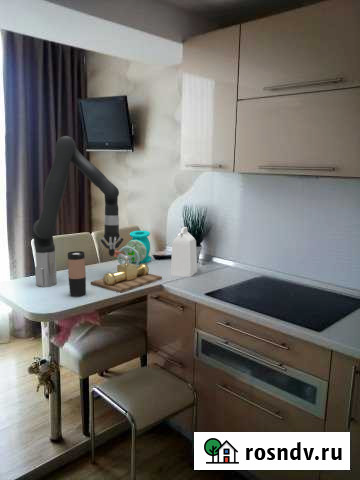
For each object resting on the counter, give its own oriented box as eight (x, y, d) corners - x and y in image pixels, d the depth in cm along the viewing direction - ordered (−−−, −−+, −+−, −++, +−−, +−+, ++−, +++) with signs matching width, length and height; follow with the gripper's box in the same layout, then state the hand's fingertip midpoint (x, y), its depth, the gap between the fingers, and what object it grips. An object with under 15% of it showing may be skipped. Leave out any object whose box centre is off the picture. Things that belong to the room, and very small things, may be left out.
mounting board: (120, 293, 184) (120, 289, 184) (90, 284, 198) (90, 281, 197) (162, 279, 208) (161, 276, 207) (132, 272, 221) (132, 270, 221)
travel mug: (72, 292, 186) (70, 251, 182) (88, 292, 186) (86, 251, 182) (67, 297, 178) (65, 254, 175) (83, 297, 178) (81, 254, 174)
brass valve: (111, 287, 189) (110, 265, 187) (101, 285, 194) (101, 263, 192) (150, 275, 211) (149, 255, 209) (140, 273, 215) (140, 253, 213)
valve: (153, 230, 248) (137, 245, 221) (154, 257, 254) (138, 274, 226) (132, 230, 252) (113, 244, 224) (134, 255, 257) (116, 272, 229)
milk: (190, 276, 212) (190, 229, 208) (170, 275, 216) (170, 228, 211) (197, 271, 223) (197, 226, 219) (178, 269, 227) (178, 225, 222)
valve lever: (125, 261, 198) (125, 255, 198) (112, 255, 211) (111, 250, 211) (130, 260, 200) (130, 255, 200) (117, 254, 213) (116, 249, 213)
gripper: (101, 225, 198) (101, 258, 201) (126, 224, 204) (125, 256, 207) (97, 223, 205) (97, 255, 208) (121, 222, 211) (121, 253, 214)
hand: (111, 255), depth 207 cm, fingers closed
